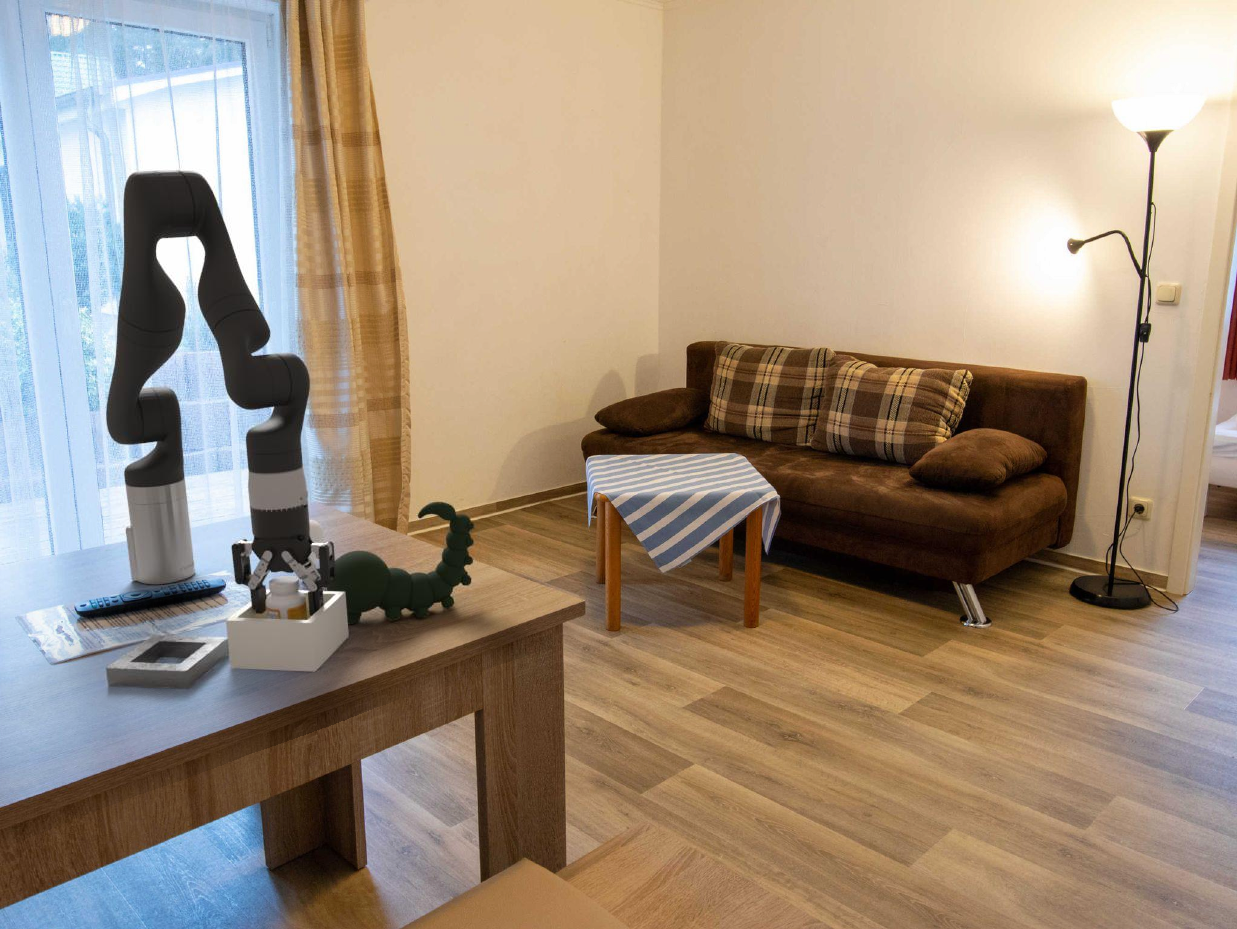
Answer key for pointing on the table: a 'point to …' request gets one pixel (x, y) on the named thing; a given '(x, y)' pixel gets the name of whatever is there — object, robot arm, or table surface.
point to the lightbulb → (315, 537)
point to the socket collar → (146, 673)
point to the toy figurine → (406, 574)
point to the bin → (287, 636)
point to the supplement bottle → (286, 599)
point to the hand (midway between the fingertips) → (288, 612)
